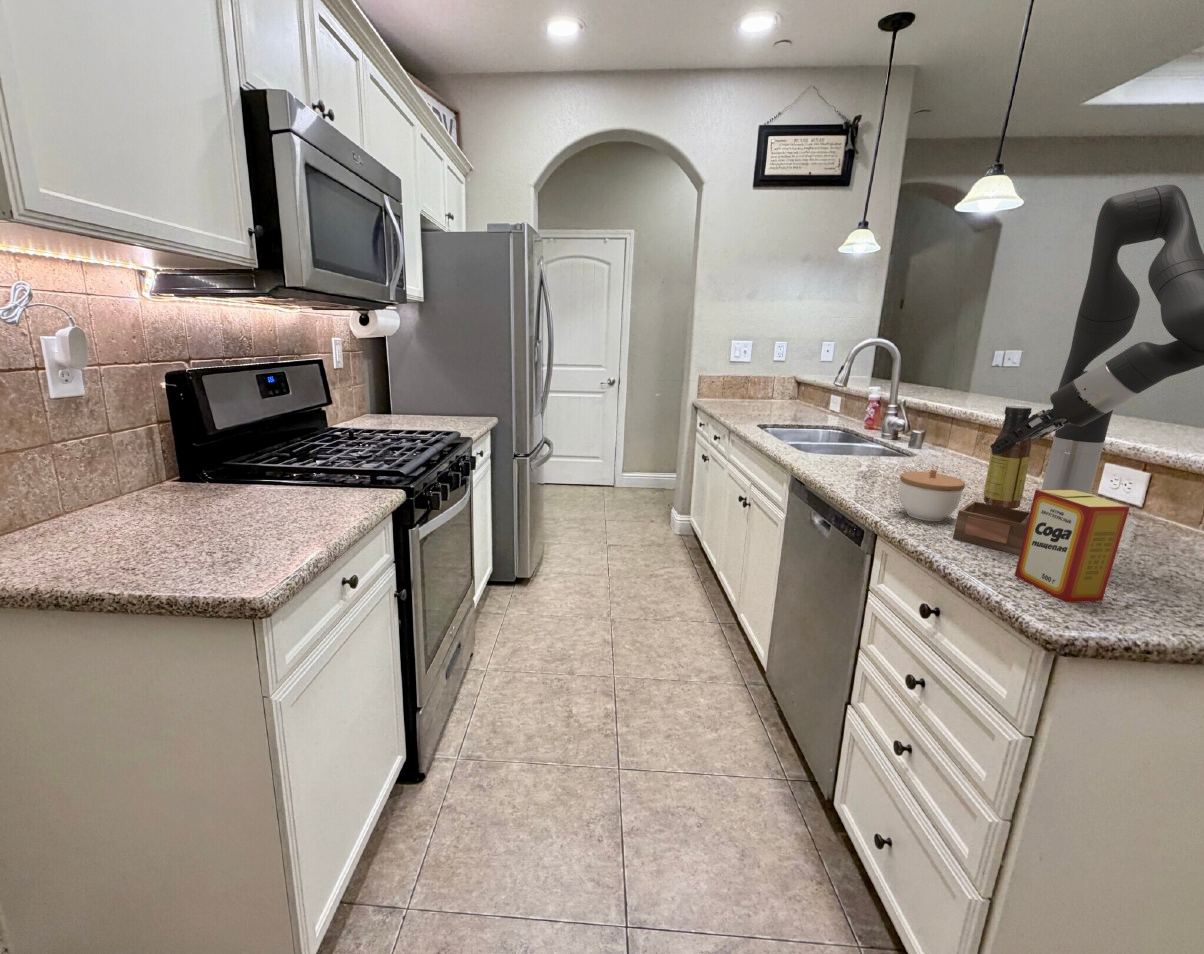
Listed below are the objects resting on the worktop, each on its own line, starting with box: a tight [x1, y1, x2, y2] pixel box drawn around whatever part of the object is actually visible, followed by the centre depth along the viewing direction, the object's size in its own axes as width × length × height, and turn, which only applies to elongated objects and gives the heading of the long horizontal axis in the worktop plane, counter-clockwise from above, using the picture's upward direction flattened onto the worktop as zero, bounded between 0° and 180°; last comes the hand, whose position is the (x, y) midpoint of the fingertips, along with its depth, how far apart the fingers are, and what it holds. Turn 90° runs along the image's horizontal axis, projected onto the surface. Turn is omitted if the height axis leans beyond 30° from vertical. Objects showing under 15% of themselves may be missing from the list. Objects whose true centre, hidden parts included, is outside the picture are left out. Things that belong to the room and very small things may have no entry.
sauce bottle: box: [983, 405, 1032, 509], centre depth 106 cm, size 6×6×20 cm
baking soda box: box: [1014, 489, 1131, 603], centre depth 88 cm, size 10×6×16 cm
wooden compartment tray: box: [952, 500, 1030, 556], centre depth 106 cm, size 11×21×6 cm, turn 43°
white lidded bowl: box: [898, 468, 966, 522], centre depth 123 cm, size 13×13×11 cm
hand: (1001, 448), depth 107 cm, fingers closed on sauce bottle, 6 cm apart
